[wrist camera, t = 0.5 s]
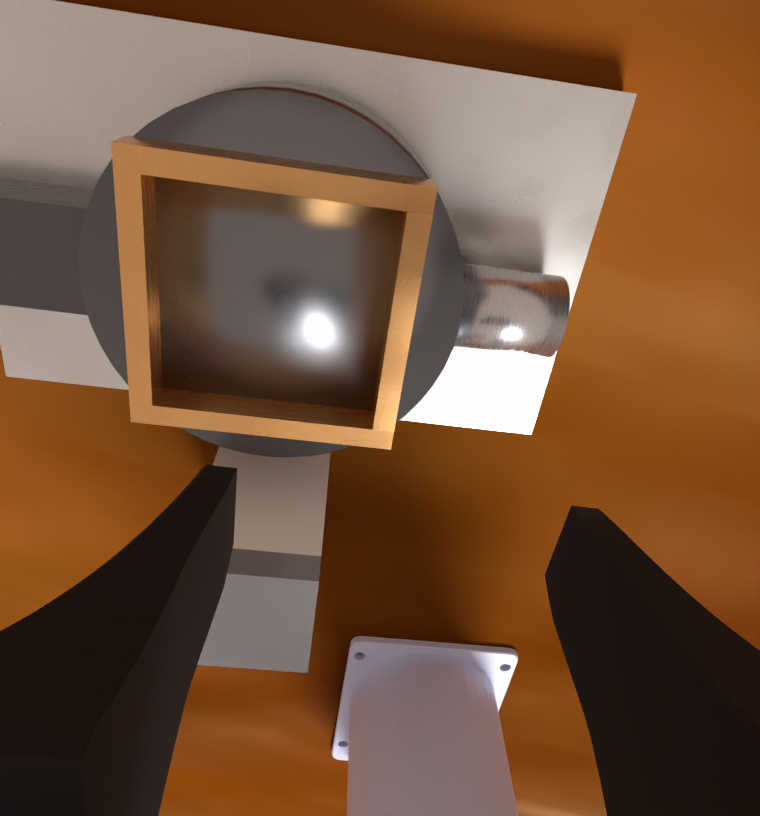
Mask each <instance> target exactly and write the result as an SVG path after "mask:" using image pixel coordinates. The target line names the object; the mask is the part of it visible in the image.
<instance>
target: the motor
mask: <svg viewBox="0 0 760 816" xmlns="http://www.w3.org/2000/svg"><path fill="white" fill-rule="evenodd" d="M636 96H637V94H634V93H630V92H625V91H619V90H613V89H607V88H600V87H594V86H588V85H582V84H576V83H569V82H563V81H557V80H551V79H544V78H538V77H532V76H526V75H520V74H513V73H507V72H501V71H495V70H488V69H482V68H476V67H470V66H464V65H457V64H451V63H445V62H439V61H432V60H426V59H420V58H414V57H408V56H401V55H395V54H389V53H383V52H376V51H370V50H364V49H358V48H352V47H345V46H339V45H333V44H327V43H320V42H314V41H308V40H302V39H296V38H289V37H283V36H277V35H271V34H264V33H258V32H252V31H246V30H240V29H233V28H227V27H221V26H215V25H208V24H202V23H196V22H190V21H184V20H177V19H171V18H165V17H159V16H152V15H146V14H140V13H134V12H127V11H121V10H115V9H109V8H103V7H96V6H90V5H84V4H78V3H71V2H65V1H59V0H0V346H1V351H2V357H3V362H4V368H5V373H6V376H8V377H17V378H26V379H35V380H44V381H53V382H62V383H71V384H80V385H89V386H98V387H107V388H116V389H125V390H129V403H130V417H131V422H136V423H145V424H154V425H164V426H173V427H179V428H181V429H182V430H184V431H186V432H188V433H190V434H192V435H194V436H196V437H198V438H200V439H202V440H205V441H207V442H210V443H213V444H215V445H218V446H221V447H223V448H227V449H231V450H235V451H238V452H242V453H247V454H253V455H260V456H267V457H286V458H288V457H306V456H314V455H320V454H326V453H331V452H334V451H338V450H341V449H345V448H348V447H351V446H361V447H370V448H379V449H389V450H391V446H392V440H393V435H394V429H395V424H396V422H398V421H399V420H405V421H414V422H423V423H432V424H441V425H450V426H459V427H468V428H477V429H486V430H495V431H504V432H513V433H522V434H531V433H532V430H533V427H534V424H535V420H536V417H537V414H538V411H539V408H540V404H541V401H542V398H543V395H544V392H545V388H546V385H547V382H548V379H549V375H550V372H551V369H552V366H553V363H554V359H555V356H556V353H557V350H558V348H559V346H560V344H561V342H562V340H563V337H564V334H565V330H566V327H567V322H568V316H569V311H570V308H571V305H572V302H573V298H574V295H575V292H576V289H577V285H578V282H579V279H580V276H581V273H582V269H583V266H584V263H585V260H586V257H587V253H588V250H589V247H590V244H591V240H592V237H593V234H594V231H595V228H596V224H597V221H598V218H599V215H600V212H601V208H602V205H603V202H604V199H605V195H606V192H607V189H608V186H609V183H610V179H611V176H612V173H613V170H614V167H615V163H616V160H617V157H618V154H619V150H620V147H621V144H622V141H623V138H624V134H625V131H626V128H627V125H628V122H629V118H630V115H631V112H632V109H633V105H634V102H635V99H636Z"/></svg>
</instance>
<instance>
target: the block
mask: <svg viewBox="0 0 760 816" xmlns="http://www.w3.org/2000/svg"><path fill="white" fill-rule="evenodd" d="M330 454H331V453H326V454H320V455H314V456H306V457H288V458H286V457H267V456H260V455H253V454H247V453H242V452H238V451H235V450H231V449H227V448H223V447H221V446H219V448H218V451H217V454H216V456H215V459H214V462H213V465H214V466H222V467H231V468H237V485H236V506H235V526H234V544H233V548H232V553H231V558H230V562H229V567H228V572H227V576H226V580H225V585H224V588H223V591H222V594H221V597H220V600H219V603H218V606H217V609H216V612H215V615H214V618H213V621H212V623H211V626H210V629H209V632H208V635H207V638H206V641H205V644H204V646H203V649H202V652H201V655H200V658H199V661H198V664H197V665H209V666H222V667H235V668H248V669H262V670H275V671H288V672H302V673H308V666H309V658H310V650H311V642H312V634H313V626H314V618H315V610H316V602H317V595H318V587H319V577H320V566H321V555H322V544H323V532H324V521H325V510H326V499H327V487H328V476H329V465H330Z"/></svg>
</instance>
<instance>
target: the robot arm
mask: <svg viewBox="0 0 760 816" xmlns="http://www.w3.org/2000/svg"><path fill="white" fill-rule="evenodd" d="M236 485H237V468H231V467H222V466H214V465H207V466H205V467H204V468H202V469H201V471H200V472H199V473H198V474H197V475H196V477H195V478H194V479H193V480H192V481H191V482H190V484H189V485H188V486H187V487H186V488H185V489H184V490H183V491H182V492H181V493H180V495H179V496H178V497H177V498H176V499H175V500H174V501H173V502H172V503H171V504H170V505H169V506H168V507H167V508H166V509H165V510H164V511H163V512H162V513H161V514H160V515H159V516H158V517H157V518H156V519H155V520H154V521H153V522H152V523H151V524H150V525H149V526H148V527H147V528H146V529H145V530H143V531H142V532H141V533H140V534H139V535H138V536H137V537H135V538H134V539H133V540H132V541H131V542H130V543H129V544H128V545H126V546H125V547H124V548H123V549H122V550H121V551H120V552H118V553H117V554H116V555H115V556H114V557H112V558H111V559H110V560H109V561H107V562H106V563H105V564H104V565H102V566H101V567H100V568H98V569H97V570H96V571H94V572H93V573H92V574H90V575H89V576H88V577H86V578H85V579H83V580H82V581H81V582H79V583H78V584H77V585H75V586H74V587H72V588H71V589H69V590H68V591H66V592H65V593H63V594H62V595H60V596H59V597H57V598H56V599H54V600H53V601H51V602H50V603H48V604H46V605H45V606H43V607H42V608H40V609H38V610H37V611H35V612H34V613H32V614H30V615H29V616H27V617H25V618H23V619H22V620H20V621H18V622H16V623H14V624H12V625H11V626H9V627H7V628H5V629H3V630H2V631H0V816H158V814H159V810H160V805H161V801H162V797H163V792H164V788H165V784H166V780H167V775H168V771H169V767H170V762H171V758H172V754H173V750H174V745H175V741H176V737H177V733H178V729H179V725H180V721H181V717H182V712H183V708H184V704H185V701H186V698H187V694H188V691H189V688H190V684H191V681H192V678H193V675H194V672H195V670H196V667H197V664H198V661H199V658H200V655H201V652H202V649H203V646H204V644H205V641H206V638H207V635H208V632H209V629H210V626H211V623H212V621H213V618H214V615H215V612H216V609H217V606H218V603H219V600H220V597H221V594H222V591H223V588H224V585H225V580H226V576H227V572H228V567H229V562H230V558H231V553H232V548H233V544H234V526H235V506H236ZM545 578H546V584H547V590H548V596H549V602H550V607H551V612H552V617H553V620H554V624H555V627H556V630H557V633H558V636H559V639H560V642H561V646H562V649H563V652H564V655H565V658H566V661H567V664H568V667H569V670H570V673H571V676H572V679H573V682H574V685H575V688H576V691H577V694H578V697H579V700H580V703H581V706H582V709H583V712H584V715H585V719H586V722H587V726H588V729H589V733H590V736H591V740H592V745H593V749H594V754H595V758H596V763H597V767H598V772H599V777H600V781H601V786H602V791H603V796H604V801H605V806H606V812H607V816H760V651H759V650H758V649H757V648H755V647H754V646H753V645H751V644H750V643H749V642H747V641H746V640H745V639H743V638H742V637H741V636H739V635H738V634H737V633H735V632H734V631H733V630H731V629H730V628H729V627H727V626H726V625H725V624H724V623H723V622H721V621H720V620H719V619H718V618H716V617H715V616H714V615H713V614H711V613H710V612H709V611H708V610H707V609H706V608H704V607H703V606H702V605H701V604H700V603H699V602H698V601H696V600H695V599H694V598H693V597H692V596H691V595H689V594H688V593H687V592H686V591H685V590H684V589H683V588H682V587H680V586H679V585H678V584H677V583H676V582H675V581H674V580H673V579H672V578H671V577H670V576H669V575H667V574H666V573H665V572H664V571H663V570H662V569H661V568H660V567H659V566H658V565H657V564H656V563H655V562H654V561H653V560H652V559H651V558H650V557H649V556H648V555H646V554H645V553H644V552H643V551H642V550H641V549H640V548H639V547H638V546H637V545H636V544H635V543H634V542H633V541H632V540H631V539H630V538H629V537H628V536H627V535H626V534H625V533H624V532H623V531H622V530H621V529H620V528H619V527H618V526H617V525H616V524H615V523H614V522H612V521H611V520H610V519H609V518H608V517H607V516H606V515H605V514H604V513H603V512H601V511H600V510H599V509H595V508H586V507H577V506H571V508H570V511H569V513H568V516H567V519H566V521H565V524H564V526H563V529H562V532H561V534H560V537H559V539H558V542H557V545H556V547H555V550H554V552H553V555H552V558H551V560H550V563H549V565H548V568H547V571H546V573H545ZM358 653H362V654H358ZM517 662H518V656H517V652H516V650H514V649H512V648H506V647H493V646H481V645H469V644H456V643H444V642H432V641H419V640H407V639H395V638H382V637H370V636H357V637H354V638H353V639H352V640H351V642H350V648H349V654H348V659H347V665H346V671H345V677H344V683H343V688H342V694H341V700H340V706H339V712H338V717H337V723H336V729H335V735H334V741H333V746H332V756H333V757H334V758H335V759H338V760H348V790H347V816H518V811H517V806H516V801H515V795H514V790H513V785H512V780H511V775H510V770H509V764H508V759H507V754H506V749H505V744H504V739H503V733H502V728H501V723H500V718H499V713H498V712H499V709H500V706H501V704H502V701H503V699H504V696H505V693H506V691H507V688H508V685H509V683H510V680H511V678H512V675H513V672H514V670H515V667H516V664H517ZM503 664H506V665H503Z"/></svg>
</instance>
